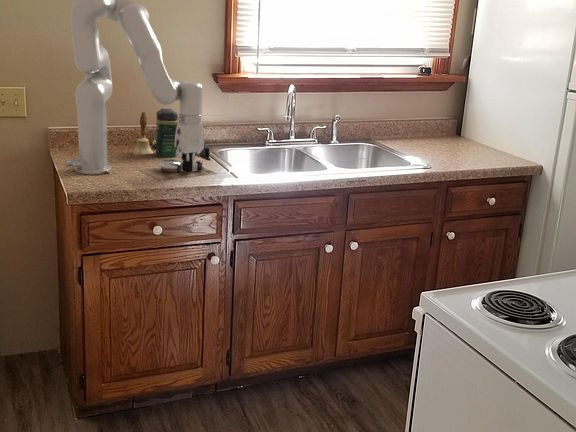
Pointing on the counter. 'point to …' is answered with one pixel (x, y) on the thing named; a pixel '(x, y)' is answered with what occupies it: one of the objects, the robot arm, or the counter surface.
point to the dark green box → (205, 152)
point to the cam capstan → (178, 165)
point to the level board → (175, 173)
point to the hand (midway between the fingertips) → (187, 171)
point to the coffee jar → (166, 133)
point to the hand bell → (142, 139)
